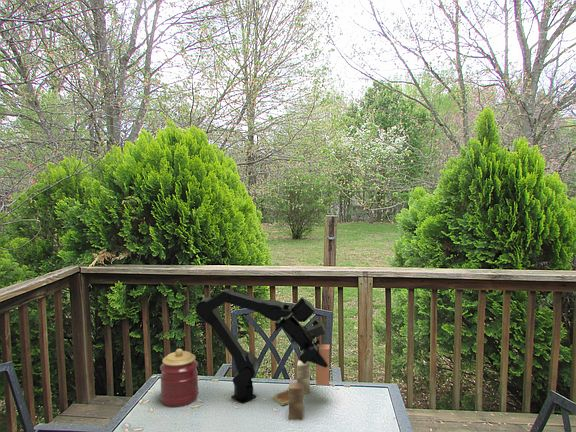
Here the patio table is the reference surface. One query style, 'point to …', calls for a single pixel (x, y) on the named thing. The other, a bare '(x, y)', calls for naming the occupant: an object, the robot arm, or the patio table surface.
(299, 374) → the birch block
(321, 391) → the patio table surface
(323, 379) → the salmon orange block
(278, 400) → the shard
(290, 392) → the walnut block
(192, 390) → the canister
